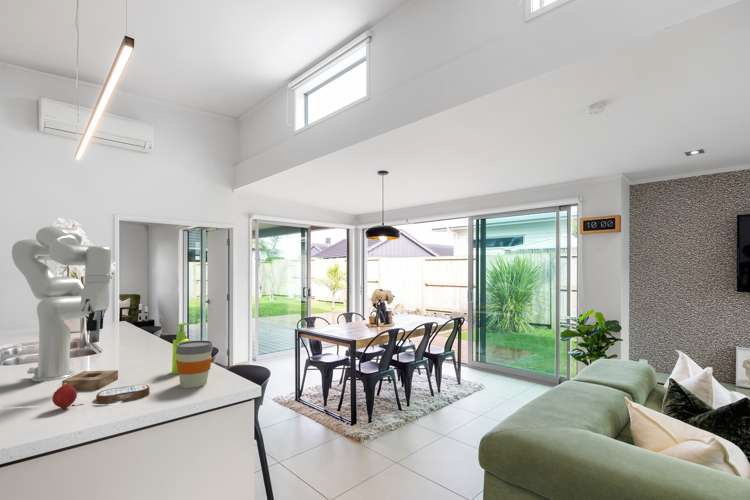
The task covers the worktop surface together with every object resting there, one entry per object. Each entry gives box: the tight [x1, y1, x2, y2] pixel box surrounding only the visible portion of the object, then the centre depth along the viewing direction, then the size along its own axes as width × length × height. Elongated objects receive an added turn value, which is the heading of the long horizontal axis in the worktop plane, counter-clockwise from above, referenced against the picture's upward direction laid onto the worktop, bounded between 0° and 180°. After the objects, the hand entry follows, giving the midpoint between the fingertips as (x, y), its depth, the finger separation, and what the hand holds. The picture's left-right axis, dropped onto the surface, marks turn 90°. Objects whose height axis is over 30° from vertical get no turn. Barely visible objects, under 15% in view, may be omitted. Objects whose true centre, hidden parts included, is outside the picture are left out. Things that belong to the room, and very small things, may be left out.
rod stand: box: [61, 369, 119, 391], centre depth 138 cm, size 12×12×4 cm
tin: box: [95, 384, 150, 405], centre depth 126 cm, size 15×3×8 cm
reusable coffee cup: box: [176, 339, 214, 389], centre depth 142 cm, size 13×12×15 cm
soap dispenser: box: [171, 322, 191, 375], centre depth 159 cm, size 6×7×20 cm
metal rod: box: [88, 310, 101, 344], centre depth 139 cm, size 3×3×14 cm
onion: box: [51, 383, 78, 410], centre depth 117 cm, size 6×6×8 cm
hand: (94, 329), depth 139 cm, fingers closed on metal rod, 3 cm apart
